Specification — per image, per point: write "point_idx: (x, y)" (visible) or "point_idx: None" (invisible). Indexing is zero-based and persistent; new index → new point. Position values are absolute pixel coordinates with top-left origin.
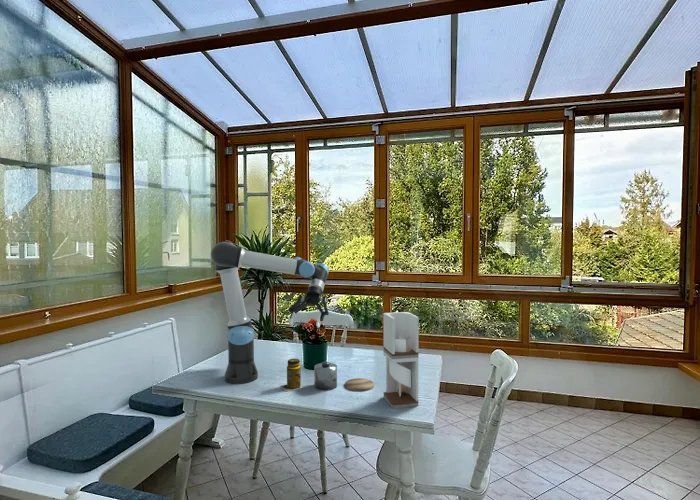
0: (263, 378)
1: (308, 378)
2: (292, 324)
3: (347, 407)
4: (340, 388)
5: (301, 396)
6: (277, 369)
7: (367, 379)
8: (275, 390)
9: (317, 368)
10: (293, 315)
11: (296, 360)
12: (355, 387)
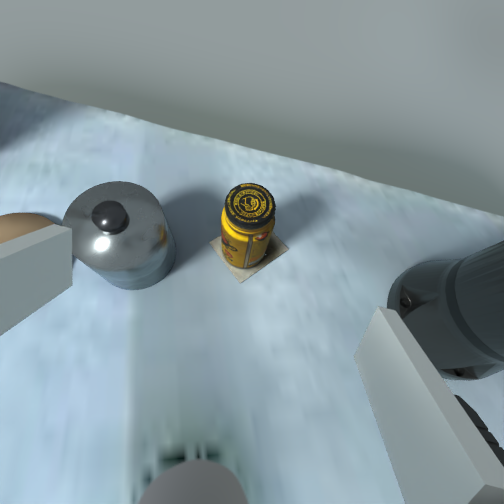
0: (366, 320)
1: (204, 327)
2: (364, 352)
3: (85, 124)
4: None
5: (208, 182)
6: (355, 437)
7: None
8: (290, 220)
9: (149, 195)
10: (434, 399)
11: (238, 202)
12: (33, 223)
